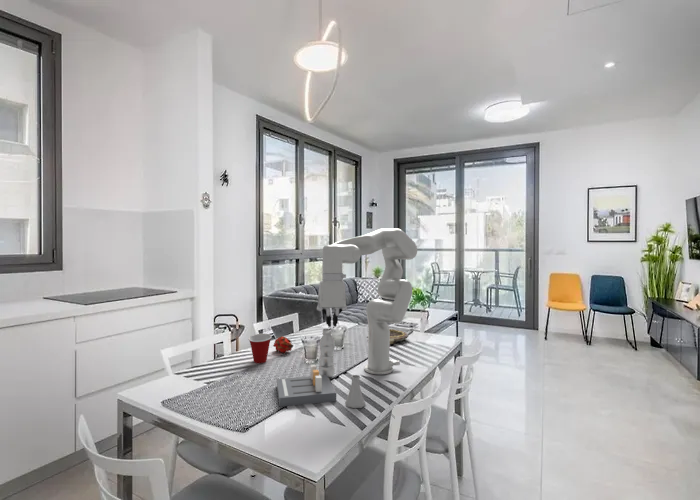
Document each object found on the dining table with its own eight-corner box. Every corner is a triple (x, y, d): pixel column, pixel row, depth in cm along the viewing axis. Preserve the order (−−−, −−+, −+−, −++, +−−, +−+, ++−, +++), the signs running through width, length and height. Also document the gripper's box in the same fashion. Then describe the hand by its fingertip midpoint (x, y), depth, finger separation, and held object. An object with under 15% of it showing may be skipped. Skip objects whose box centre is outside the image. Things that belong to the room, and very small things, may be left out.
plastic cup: (243, 363, 173) (243, 337, 172) (257, 356, 183) (257, 332, 182) (262, 366, 169) (262, 340, 168) (276, 359, 179) (276, 334, 178)
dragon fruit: (276, 352, 196) (291, 360, 189) (266, 345, 190) (281, 353, 183) (284, 337, 199) (300, 345, 192) (275, 330, 193) (290, 338, 186)
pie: (368, 333, 232) (368, 325, 232) (412, 335, 230) (412, 327, 230) (365, 346, 205) (365, 337, 204) (415, 349, 202) (416, 339, 202)
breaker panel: (326, 382, 151) (327, 362, 151) (336, 401, 134) (336, 378, 133) (276, 386, 146) (276, 365, 146) (279, 406, 129) (279, 383, 128)
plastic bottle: (318, 374, 160) (318, 327, 159) (334, 373, 161) (334, 327, 160) (318, 379, 154) (318, 331, 153) (334, 379, 154) (335, 331, 154)
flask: (363, 410, 127) (364, 381, 127) (343, 407, 128) (343, 379, 128) (367, 401, 134) (367, 373, 134) (347, 399, 135) (347, 371, 135)
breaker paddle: (317, 382, 142) (317, 369, 142) (318, 385, 140) (319, 371, 140) (312, 383, 142) (312, 370, 142) (313, 385, 139) (313, 372, 139)
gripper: (349, 276, 147) (349, 322, 147) (310, 276, 143) (310, 324, 143) (354, 278, 139) (354, 327, 140) (313, 279, 136) (312, 329, 136)
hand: (331, 325), depth 142 cm, fingers closed
